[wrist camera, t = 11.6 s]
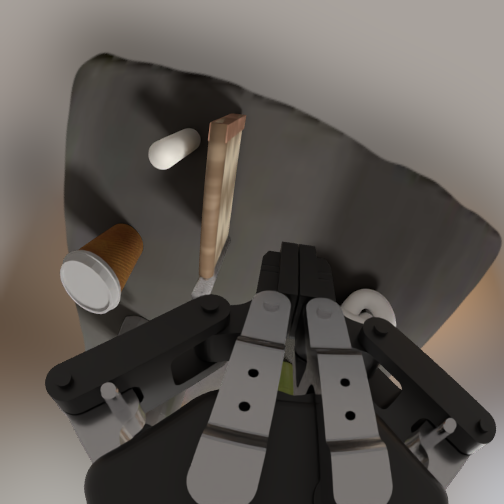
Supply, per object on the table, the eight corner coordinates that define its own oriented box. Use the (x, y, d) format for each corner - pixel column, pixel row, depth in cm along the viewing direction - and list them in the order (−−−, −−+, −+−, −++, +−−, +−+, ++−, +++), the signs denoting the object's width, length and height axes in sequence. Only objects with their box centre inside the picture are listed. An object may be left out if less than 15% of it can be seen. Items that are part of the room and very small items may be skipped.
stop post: (202, 150, 33) (178, 168, 27) (179, 152, 34) (151, 171, 27) (198, 126, 32) (173, 138, 25) (175, 129, 32) (146, 142, 26)
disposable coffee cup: (142, 210, 39) (96, 255, 29) (160, 265, 44) (126, 318, 34) (93, 217, 41) (47, 258, 31) (113, 267, 45) (76, 314, 35)
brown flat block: (229, 235, 38) (211, 279, 30) (217, 233, 38) (197, 276, 30) (246, 115, 30) (227, 125, 22) (232, 113, 30) (208, 123, 22)
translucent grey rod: (231, 245, 40) (209, 303, 30) (218, 245, 40) (193, 302, 30) (229, 233, 39) (206, 290, 29) (216, 233, 39) (189, 289, 29)
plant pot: (261, 351, 51) (254, 390, 44) (310, 359, 51) (309, 398, 44) (253, 377, 56) (247, 412, 49) (297, 384, 56) (295, 419, 49)
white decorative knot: (381, 265, 38) (397, 308, 31) (392, 320, 44) (404, 361, 36) (308, 288, 42) (309, 333, 35) (330, 338, 47) (333, 381, 40)
